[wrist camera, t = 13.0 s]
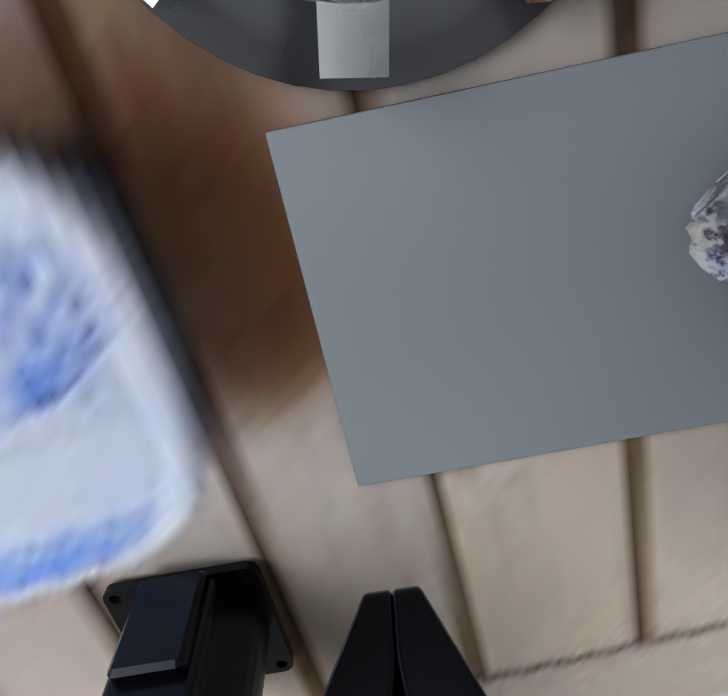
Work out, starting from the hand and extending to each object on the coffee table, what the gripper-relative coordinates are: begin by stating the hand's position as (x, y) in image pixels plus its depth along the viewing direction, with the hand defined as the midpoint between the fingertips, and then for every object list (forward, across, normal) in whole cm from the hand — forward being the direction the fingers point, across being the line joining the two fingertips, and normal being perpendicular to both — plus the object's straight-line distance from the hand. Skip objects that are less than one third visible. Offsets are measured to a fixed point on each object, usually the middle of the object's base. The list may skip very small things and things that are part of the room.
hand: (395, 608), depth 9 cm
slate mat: (+12, -9, +1) cm, 15 cm away
